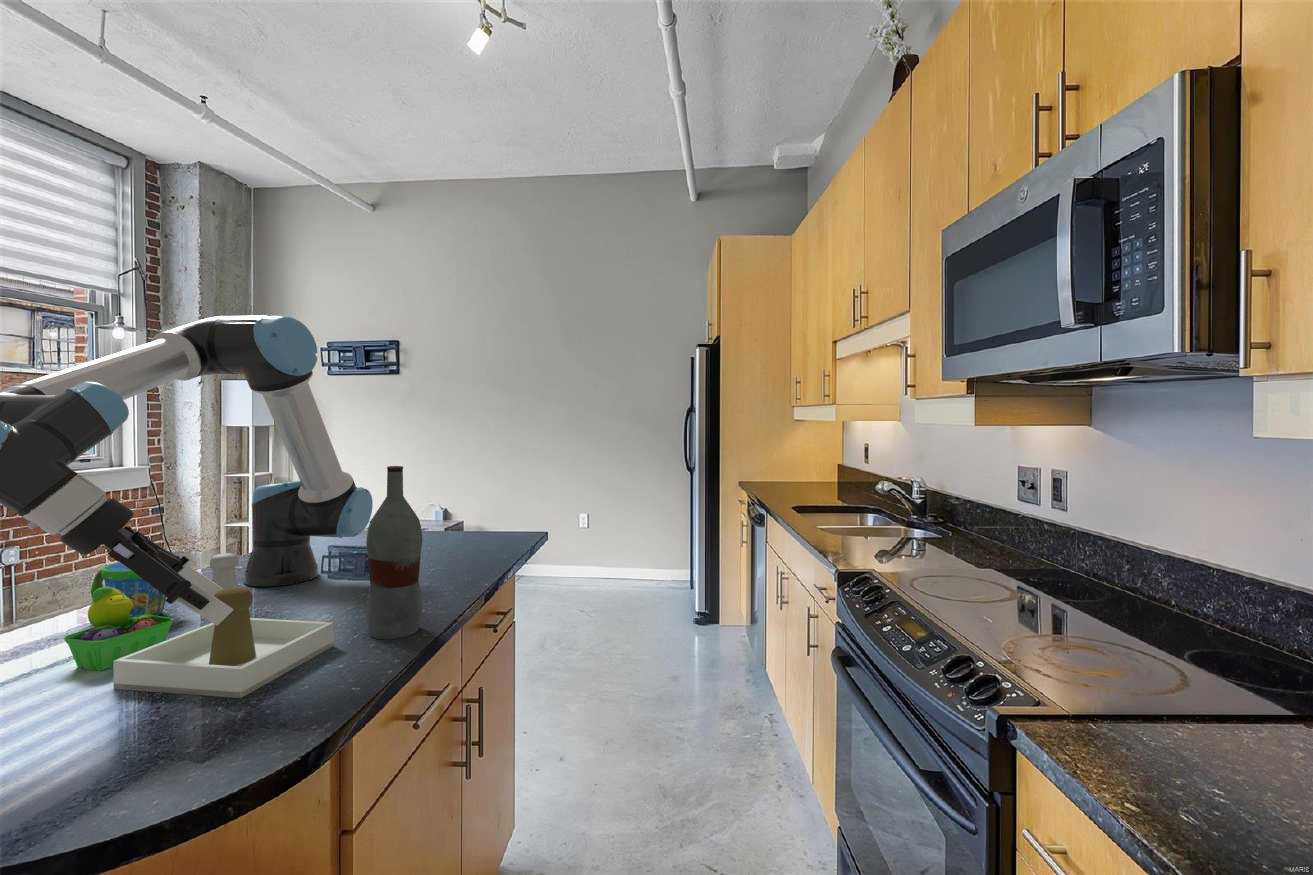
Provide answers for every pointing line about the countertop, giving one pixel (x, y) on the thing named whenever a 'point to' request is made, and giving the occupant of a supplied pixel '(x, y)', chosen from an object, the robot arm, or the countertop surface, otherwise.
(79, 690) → the countertop surface
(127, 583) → the snack cup
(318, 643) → the bin
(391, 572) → the bottle
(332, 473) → the robot arm
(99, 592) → the fruit basket
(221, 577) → the salt shaker
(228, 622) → the cork
